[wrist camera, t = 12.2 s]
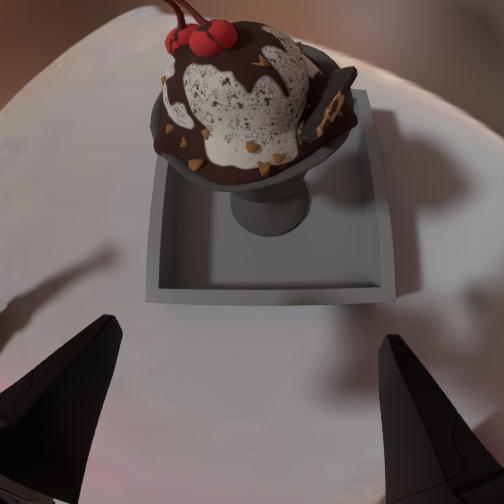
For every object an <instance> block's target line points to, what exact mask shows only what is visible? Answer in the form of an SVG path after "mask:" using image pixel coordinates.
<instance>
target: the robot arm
mask: <svg viewBox="0 0 504 504" xmlns="http://www.w3.org/2000/svg"><path fill="white" fill-rule="evenodd" d="M122 336H123V332H122V329H121V327H120V325H119V323H118V321H117V319H116V317H115V316H113V315H109V314H104V315H102V316H101V317H99V318H98V319H97V320H95V321H94V322H93V323H91V324H90V325H89V326H87V327H86V328H85V329H83V330H82V331H81V332H79V333H78V334H77V335H76V336H74V337H73V338H72V339H70V340H69V341H68V342H66V343H65V344H64V345H63V346H61V347H60V348H59V349H57V350H56V351H55V352H54V353H52V354H51V355H50V356H49V357H47V358H46V359H45V360H44V361H42V362H41V363H40V364H39V365H37V366H36V367H35V368H34V369H32V370H31V371H30V372H29V373H27V374H26V375H25V376H23V377H22V378H21V379H20V380H18V381H17V382H16V383H14V384H13V385H11V386H10V387H9V388H7V389H6V390H4V391H3V392H1V393H0V504H55V502H54V501H53V499H54V498H55V499H57V500H60V501H63V502H66V503H69V504H78V500H79V495H80V491H81V486H82V481H83V477H84V473H85V469H86V463H87V460H88V456H89V452H90V448H91V445H92V441H93V437H94V434H95V430H96V427H97V423H98V420H99V416H100V413H101V410H102V407H103V403H104V400H105V397H106V394H107V391H108V388H109V385H110V382H111V379H112V376H113V373H114V369H115V365H116V361H117V357H118V352H119V348H120V344H121V341H122ZM378 362H379V400H380V410H381V419H382V430H383V442H384V458H385V482H386V504H504V468H503V467H502V466H501V465H500V464H499V463H498V462H497V461H496V459H495V458H494V457H493V456H492V455H491V453H490V452H489V451H488V450H487V449H486V448H485V446H484V445H483V444H482V443H481V442H480V440H479V439H478V438H477V437H476V436H475V434H474V433H473V432H472V431H471V429H470V428H469V426H468V425H467V424H466V422H465V421H464V420H463V418H462V417H461V415H460V414H459V413H458V411H457V410H456V408H455V407H454V406H453V404H452V403H451V401H450V400H449V399H448V397H447V396H446V395H445V393H444V392H443V391H442V389H441V388H440V387H439V385H438V384H437V383H436V381H435V380H434V379H433V377H432V376H431V375H430V373H429V372H428V371H427V369H426V368H425V367H424V365H423V364H422V363H421V362H420V360H419V359H418V358H417V356H416V355H415V354H414V353H413V351H412V350H411V349H410V348H409V346H408V345H407V344H406V343H405V341H404V340H403V339H402V338H401V336H400V335H398V334H388V335H386V336H385V338H384V340H383V343H382V345H381V347H380V349H379V353H378ZM457 413H458V414H457Z"/></svg>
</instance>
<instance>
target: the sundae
mask: <svg viewBox="0 0 504 504" xmlns="http://www.w3.org/2000/svg"><path fill="white" fill-rule="evenodd" d="M164 1H165V2H167V3H168V4H169V5H170V6H171V7H172V8H173V9H174V11H175V13H176V15H177V20H178V26H177V28H175V29H174V30H172V31H171V32H170V33H169V34H168V36H167V38H166V40H165V46H166V49H167V51H168V53H169V54H171V55H172V56H173V57H174V58H173V60H172V61H171V63H170V64H169V66H168V68H167V70H166V74H165V76H164V77H162V78H161V80H162V85H163V88H162V91H161V93H160V95H159V96H158V98H157V100H156V102H155V104H154V107H153V110H152V114H151V123H150V129H151V132H152V136H153V139H154V150H155V152H156V153H157V154H158V155H160V156H161V157H164V158H165V159H166V160H167V161H168V163H169V164H170V165H171V166H172V167H173V168H174V169H176V170H177V171H178V172H179V173H181V174H182V175H183V176H184V177H185V178H187V179H188V180H190V181H192V182H194V183H196V184H198V185H200V186H202V187H204V188H207V189H211V190H215V191H219V192H231V194H230V205H231V210H232V213H233V215H234V217H235V219H236V220H237V222H238V223H239V224H240V225H241V226H242V227H243V228H244V229H246V230H247V231H249V232H250V233H253V234H256V235H259V236H264V237H272V236H279V235H283V234H285V233H287V232H289V231H291V230H292V229H294V228H295V227H296V226H297V225H298V224H299V223H300V222H301V221H302V219H303V218H304V217H305V215H306V212H307V209H308V205H309V194H308V189H307V186H306V184H305V182H304V180H303V178H304V177H305V175H306V173H307V171H308V170H310V169H312V168H314V167H316V166H317V165H319V164H321V163H323V162H324V161H325V160H326V159H328V158H329V157H330V156H331V155H332V154H334V153H335V152H336V151H337V150H338V149H339V148H340V147H341V146H342V145H343V143H344V142H345V141H346V140H347V138H348V136H349V134H350V131H351V129H352V128H354V127H356V126H357V124H358V118H357V116H356V114H355V112H354V100H353V96H352V92H351V88H350V87H351V85H352V84H353V82H354V80H355V78H356V77H357V69H356V68H355V67H354V66H351V67H345V68H342V69H341V68H340V67H339V66H338V65H337V64H336V62H335V61H334V60H332V59H331V58H330V57H329V56H328V55H326V54H325V53H324V52H322V51H320V50H318V49H315V48H313V47H311V46H308V45H304V44H301V42H294V41H293V40H292V39H291V38H290V37H289V36H288V35H287V34H285V33H283V32H281V31H279V30H277V29H274V28H272V27H270V26H267V25H264V24H261V23H256V22H248V21H241V22H233V23H230V22H228V21H227V20H219V19H214V20H211V21H207V20H206V19H204V18H203V17H202V16H201V15H200V14H199V13H198V12H197V11H196V10H194V9H193V8H192V7H191V6H190V5H189V4H188V3H187V2H186V1H184V0H175V1H177V2H178V3H179V4H180V5H181V6H183V7H184V8H185V9H186V10H188V11H189V13H190V14H191V15H192V16H193V18H194V19H195V20H196V21H197V23H198V24H200V25H198V24H192V23H191V24H186V23H185V18H184V14H183V12H182V11H181V9H180V7H179V6H178V5H177V4H176V3H175V2H174V1H173V0H164Z"/></svg>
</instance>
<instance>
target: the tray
mask: <svg viewBox="0 0 504 504" xmlns="http://www.w3.org/2000/svg"><path fill="white" fill-rule="evenodd" d="M351 92H352V96H353V100H354V112H355V114H356V116H357V118H358V124H357V126H356V127H354V128H352V129H351V131H350V134H349V136H348V138H347V140H346V141H345V142H344V143H343V145H342V146H341V147H340V148H339V149H338V150H337V151H336V152H335V153H334V154H332V155H331V156H330V157H329V158H328V159H326V160H325V161H324V162H323V163H321V164H319V165H317V166H316V167H314V168H312V169H310V170H308V171H307V173H306V175H305V177H304V178H303V180H304V182H305V184H306V186H307V189H308V194H309V205H308V209H307V212H306V215H305V217H304V218H303V219H302V221H301V222H300V223H299V224H298V225H297V226H296V227H295V228H294V229H292V230H291V231H289V232H287V233H285V234H283V235H279V236H272V237H264V236H259V235H256V234H253V233H250V232H249V231H247V230H246V229H244V228H243V227H242V226H241V225H240V224H239V223H238V222H237V220H236V219H235V217H234V215H233V213H232V210H231V205H230V194H231V192H219V191H215V190H211V189H207V188H204V187H202V186H200V185H198V184H196V183H194V182H192V181H190V180H188V179H187V178H185V177H184V176H183V175H182V174H181V173H179V172H178V171H177V170H176V169H174V168H173V167H172V166H171V165H170V164H169V163H168V161H167V160H166V159H165V158H164V157H161V156H160V155H158V156H157V163H156V170H155V177H154V185H153V194H152V203H151V213H150V224H149V236H148V251H147V269H146V301H145V302H147V303H167V304H193V305H236V306H293V305H336V304H361V303H381V302H396V293H395V267H394V251H393V238H392V228H391V218H390V210H389V202H388V194H387V187H386V181H385V175H384V169H383V163H382V158H381V152H380V147H379V142H378V137H377V133H376V128H375V124H374V120H373V115H372V111H371V107H370V103H369V100H368V96H367V92H366V90H356V89H351Z"/></svg>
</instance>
